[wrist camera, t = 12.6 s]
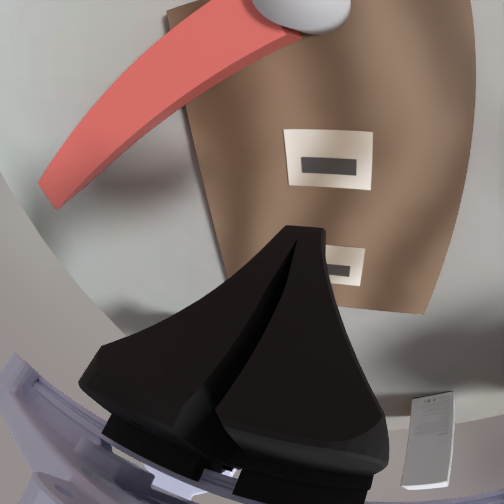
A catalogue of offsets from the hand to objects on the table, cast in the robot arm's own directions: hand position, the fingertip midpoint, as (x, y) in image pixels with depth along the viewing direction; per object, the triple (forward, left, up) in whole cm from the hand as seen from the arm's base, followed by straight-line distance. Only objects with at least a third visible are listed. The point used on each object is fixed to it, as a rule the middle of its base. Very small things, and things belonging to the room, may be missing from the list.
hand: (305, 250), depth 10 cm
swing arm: (-10, +5, -8) cm, 13 cm away
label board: (0, -1, -9) cm, 9 cm away
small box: (+18, -34, -10) cm, 40 cm away
